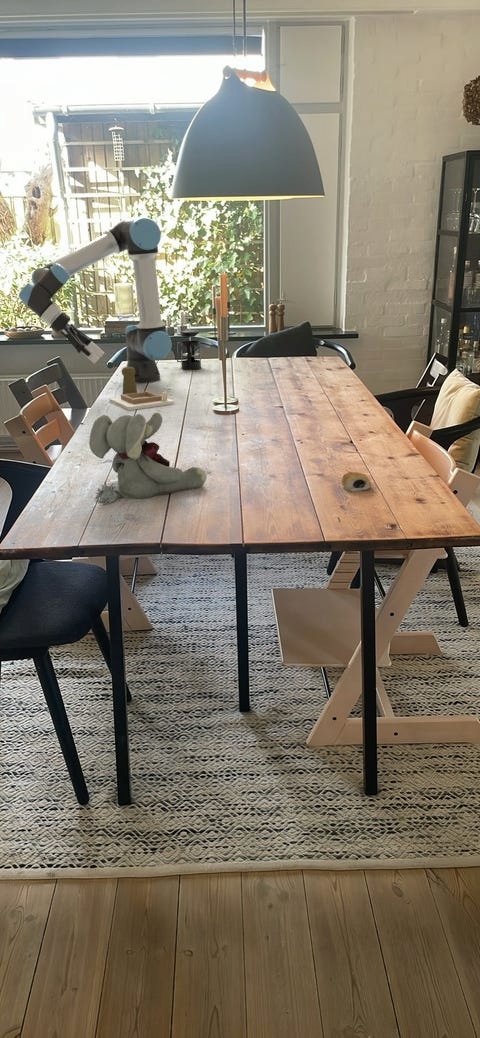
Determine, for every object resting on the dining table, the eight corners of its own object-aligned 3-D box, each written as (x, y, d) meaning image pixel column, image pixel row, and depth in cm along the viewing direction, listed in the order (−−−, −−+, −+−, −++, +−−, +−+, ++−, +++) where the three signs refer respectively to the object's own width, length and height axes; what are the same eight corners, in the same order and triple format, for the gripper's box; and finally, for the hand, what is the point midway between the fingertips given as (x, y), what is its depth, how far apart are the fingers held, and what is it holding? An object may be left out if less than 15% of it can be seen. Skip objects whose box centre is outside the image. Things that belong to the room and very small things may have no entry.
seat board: (153, 395, 296) (152, 385, 295) (174, 404, 282) (173, 392, 280) (109, 401, 288) (108, 390, 286) (129, 410, 273) (128, 398, 272)
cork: (139, 394, 300) (137, 365, 296) (136, 397, 295) (134, 368, 291) (124, 394, 301) (122, 365, 297) (120, 397, 295) (118, 368, 291)
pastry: (337, 481, 194) (337, 466, 192) (363, 479, 194) (364, 465, 193) (346, 492, 185) (346, 477, 184) (373, 491, 186) (374, 476, 184)
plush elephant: (152, 470, 205) (147, 393, 198) (210, 486, 191) (208, 404, 184) (69, 495, 187) (60, 411, 180) (126, 515, 173) (119, 425, 166)
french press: (204, 366, 358) (202, 315, 349) (201, 370, 349) (199, 318, 341) (179, 366, 359) (177, 316, 351) (175, 370, 350) (173, 318, 342)
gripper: (56, 322, 300) (98, 360, 305) (42, 330, 276) (87, 371, 282) (68, 307, 298) (110, 346, 303) (55, 314, 274) (101, 356, 280)
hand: (99, 358), depth 292 cm, fingers open, 13 cm apart
